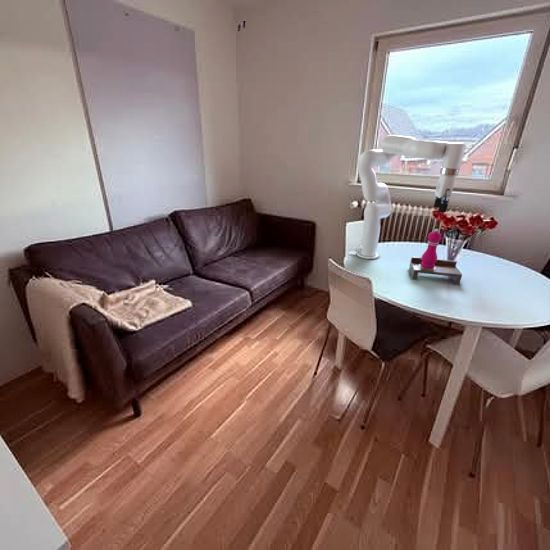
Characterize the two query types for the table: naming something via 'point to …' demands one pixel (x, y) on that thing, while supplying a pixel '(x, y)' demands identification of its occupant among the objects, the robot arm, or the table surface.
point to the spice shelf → (436, 269)
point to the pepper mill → (431, 250)
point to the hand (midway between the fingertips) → (439, 209)
